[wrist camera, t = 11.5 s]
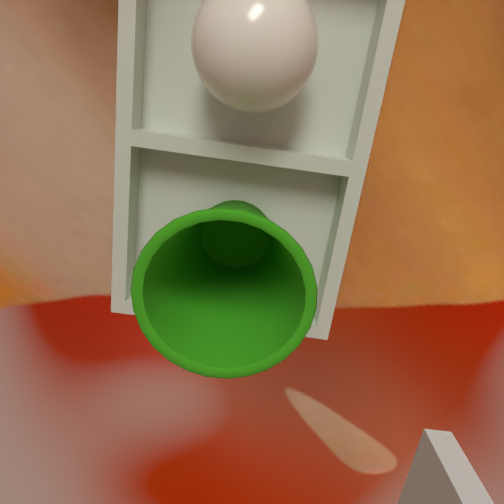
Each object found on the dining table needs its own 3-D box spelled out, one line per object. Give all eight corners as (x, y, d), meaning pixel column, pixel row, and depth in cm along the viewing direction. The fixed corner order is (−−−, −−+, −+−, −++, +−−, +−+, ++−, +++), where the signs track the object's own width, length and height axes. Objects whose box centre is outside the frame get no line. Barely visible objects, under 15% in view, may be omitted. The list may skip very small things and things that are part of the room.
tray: (123, 294, 33) (111, 311, 30) (137, -85, 24) (121, -110, 22) (321, 319, 33) (327, 339, 30) (401, -42, 25) (419, -62, 22)
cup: (298, 170, 28) (321, 207, 18) (296, 289, 31) (314, 379, 21) (169, 172, 29) (118, 210, 18) (179, 291, 32) (140, 381, 21)
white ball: (195, 104, 27) (175, 103, 20) (205, -18, 25) (186, -64, 18) (300, 119, 27) (313, 123, 21) (320, -1, 25) (342, -39, 18)
